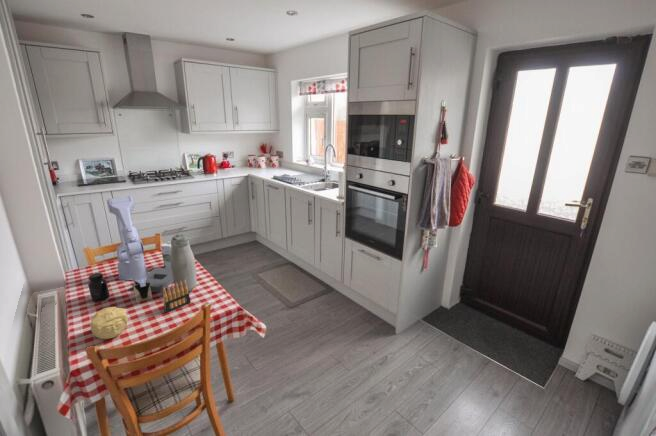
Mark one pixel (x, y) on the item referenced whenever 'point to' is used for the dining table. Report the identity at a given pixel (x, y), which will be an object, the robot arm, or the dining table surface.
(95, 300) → the supplement bottle
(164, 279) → the slot board
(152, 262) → the dining table surface
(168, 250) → the syrup box
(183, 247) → the grey bottle
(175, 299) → the ammunition clip
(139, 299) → the peg
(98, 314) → the sculpture
